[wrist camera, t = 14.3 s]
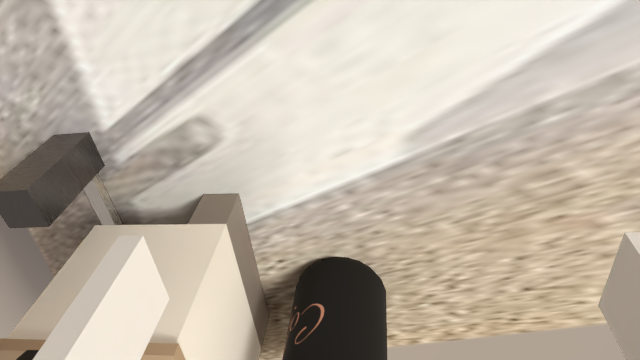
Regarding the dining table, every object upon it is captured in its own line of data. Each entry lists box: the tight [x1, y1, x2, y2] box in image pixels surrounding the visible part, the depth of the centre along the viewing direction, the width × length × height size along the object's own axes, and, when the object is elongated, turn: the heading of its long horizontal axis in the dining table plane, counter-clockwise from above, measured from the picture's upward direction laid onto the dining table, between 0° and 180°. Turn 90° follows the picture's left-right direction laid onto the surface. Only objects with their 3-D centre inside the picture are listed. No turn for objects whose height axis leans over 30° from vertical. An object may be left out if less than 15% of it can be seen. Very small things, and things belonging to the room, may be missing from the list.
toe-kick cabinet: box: [0, 194, 269, 360], centre depth 47 cm, size 21×16×20 cm
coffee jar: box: [282, 257, 387, 360], centre depth 48 cm, size 11×11×18 cm
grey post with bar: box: [0, 132, 123, 228], centre depth 48 cm, size 20×4×10 cm, turn 8°
